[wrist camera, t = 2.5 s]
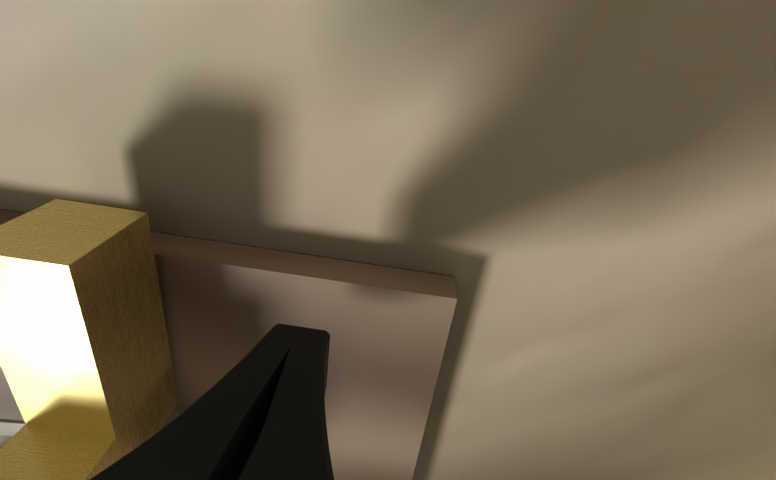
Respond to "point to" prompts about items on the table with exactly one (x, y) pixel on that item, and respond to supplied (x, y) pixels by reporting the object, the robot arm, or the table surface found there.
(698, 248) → the table surface
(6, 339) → the door handle
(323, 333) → the robot arm
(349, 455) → the base
